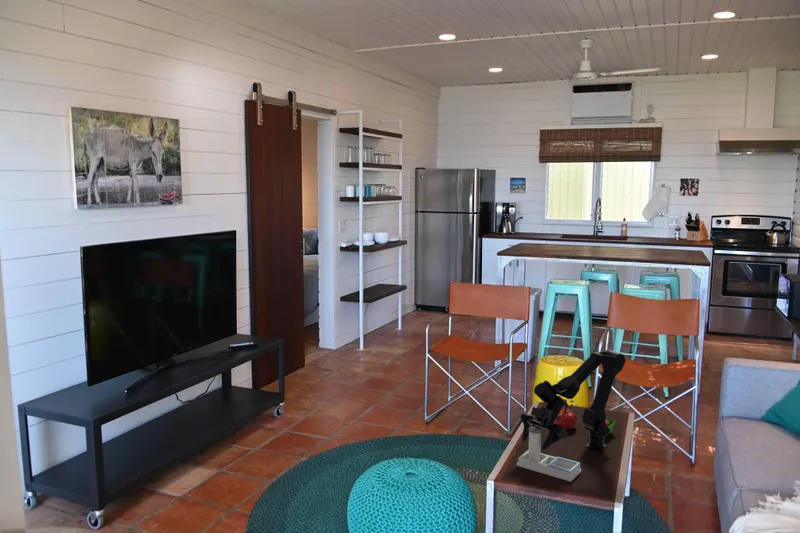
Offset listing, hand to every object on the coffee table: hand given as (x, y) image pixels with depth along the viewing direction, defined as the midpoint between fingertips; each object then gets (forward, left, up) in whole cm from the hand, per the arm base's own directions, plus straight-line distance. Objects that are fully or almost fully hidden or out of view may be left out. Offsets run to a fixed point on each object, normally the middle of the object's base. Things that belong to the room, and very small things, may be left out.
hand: (532, 445), depth 236 cm
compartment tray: (-1, +6, -8) cm, 10 cm away
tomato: (-43, -5, -8) cm, 44 cm away
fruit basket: (-45, +10, -8) cm, 47 cm away
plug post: (-1, 0, -7) cm, 7 cm away
